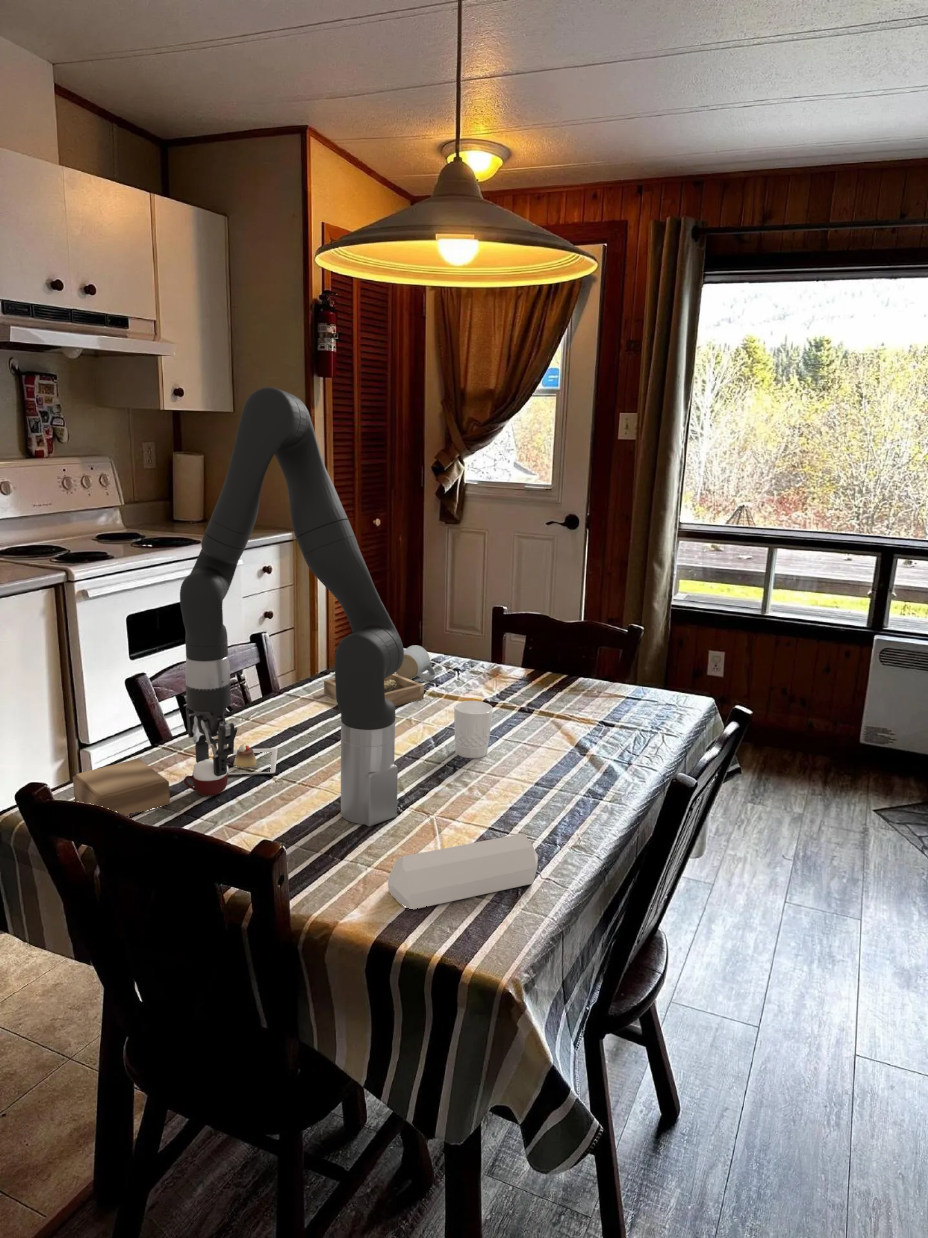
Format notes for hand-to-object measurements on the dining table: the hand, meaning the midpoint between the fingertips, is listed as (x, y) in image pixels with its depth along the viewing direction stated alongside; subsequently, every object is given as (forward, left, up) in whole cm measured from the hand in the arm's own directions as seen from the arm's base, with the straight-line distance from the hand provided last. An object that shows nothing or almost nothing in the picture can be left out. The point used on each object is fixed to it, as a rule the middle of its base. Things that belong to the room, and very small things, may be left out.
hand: (211, 768), depth 152 cm
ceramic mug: (+30, -74, -5) cm, 79 cm away
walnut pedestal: (+6, +14, -5) cm, 16 cm away
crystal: (-52, -14, -5) cm, 54 cm away
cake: (+25, -57, -5) cm, 63 cm away
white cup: (-16, -50, -5) cm, 53 cm away
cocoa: (0, 0, -5) cm, 5 cm away
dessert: (+8, -11, -6) cm, 14 cm away
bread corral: (+24, -55, -5) cm, 60 cm away
